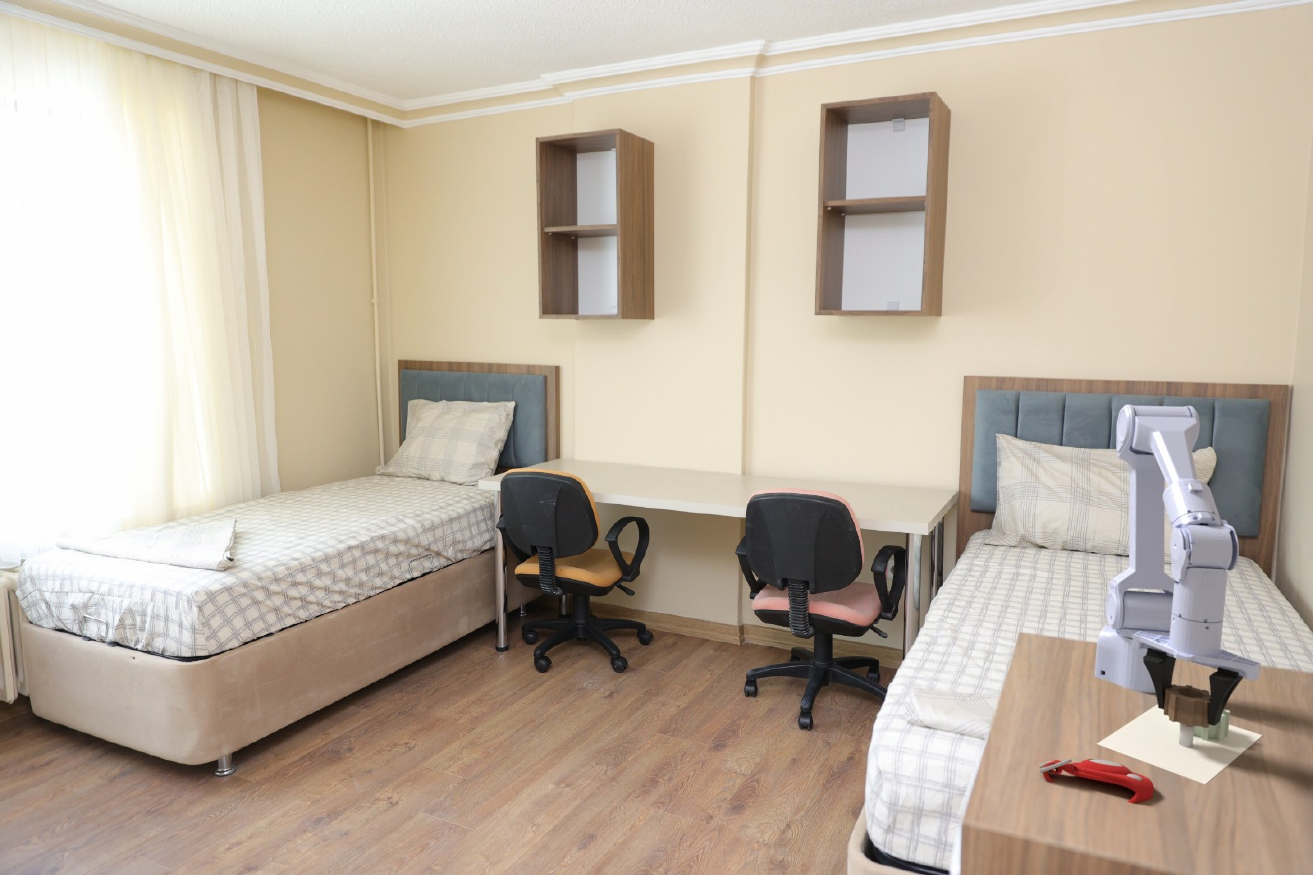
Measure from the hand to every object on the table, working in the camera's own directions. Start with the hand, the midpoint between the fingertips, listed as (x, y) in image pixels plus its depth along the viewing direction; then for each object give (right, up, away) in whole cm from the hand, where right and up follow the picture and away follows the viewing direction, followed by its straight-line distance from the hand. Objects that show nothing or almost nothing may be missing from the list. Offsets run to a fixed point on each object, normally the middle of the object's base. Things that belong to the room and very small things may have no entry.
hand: (1188, 714), depth 116 cm
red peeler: (-16, -7, -7) cm, 19 cm away
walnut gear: (0, -1, 0) cm, 0 cm away
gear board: (0, -5, +2) cm, 5 cm away
